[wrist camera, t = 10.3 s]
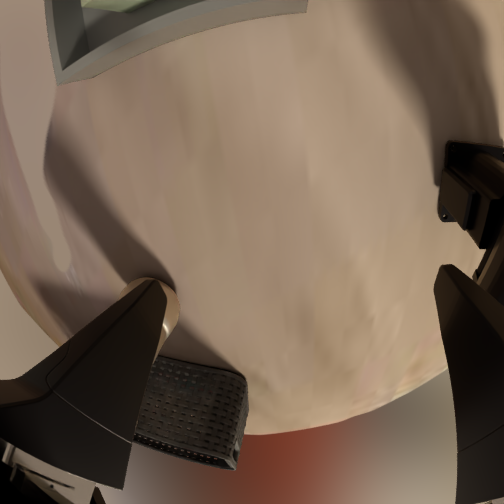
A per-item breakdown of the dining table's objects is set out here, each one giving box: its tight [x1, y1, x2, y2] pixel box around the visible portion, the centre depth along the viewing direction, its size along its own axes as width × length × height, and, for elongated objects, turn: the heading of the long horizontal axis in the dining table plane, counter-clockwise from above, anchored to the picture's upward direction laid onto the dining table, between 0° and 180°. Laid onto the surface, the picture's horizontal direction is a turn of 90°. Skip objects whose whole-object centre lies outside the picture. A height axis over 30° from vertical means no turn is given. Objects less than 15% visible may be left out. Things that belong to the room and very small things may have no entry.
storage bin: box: [133, 356, 249, 470], centre depth 38 cm, size 29×19×13 cm
